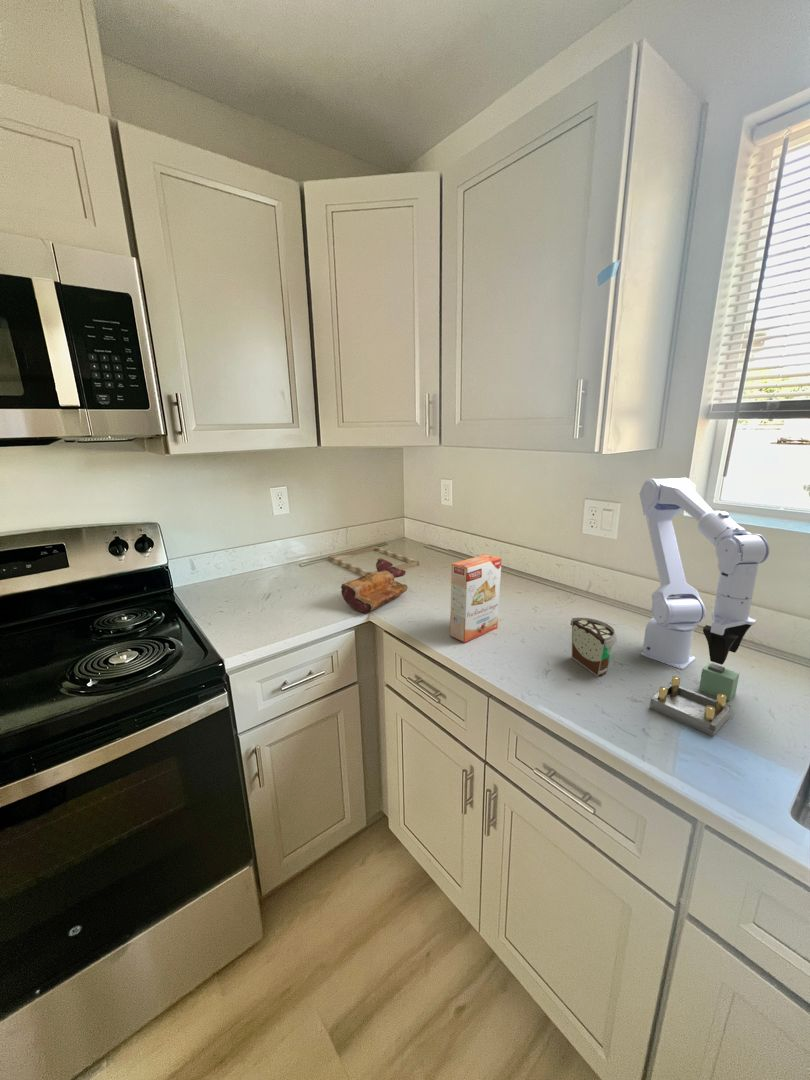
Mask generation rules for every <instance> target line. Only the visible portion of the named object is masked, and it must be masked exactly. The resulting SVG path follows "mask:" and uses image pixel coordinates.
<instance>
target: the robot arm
mask: <svg viewBox="0 0 810 1080" xmlns="http://www.w3.org/2000/svg"><path fill="white" fill-rule="evenodd" d="M638 495H639V498H640V502H641V507H642V512H643V513H642V514H643V515H644V516H645V519H646V523H647V527H648V529H647V530H648V533H649V538H650V541H651V547H652V551H653V556H654V557H653V558H654V560H655V561H654V562H655V565H656V570H657V574H658V575H657V576H658V579H659V583H660V586H658V588H656V590H655V591H653V592H652V594H651V601H652V603H651V614H652V617H651V618H650V619H649V620H648V622H647V624H646V627H645V630H644V638H643V644H642V652H640V654H641V656H644V657H647V658H648V659H652V660H655V661H656V662H657V661H658V662H660V663H662V664H666V665H668V666H671V667H674V668H676V669H679V670H685V669H686V668H687V667H688V666H689V665H691V664H692V663H693V662H694V661H696V657H695V656H693V655H691V649H692V643H693V636H694V630H695V629H696V628H698V625H699V624H701V623H702V622H703V621H704V620H705V618H706V614H707V611H706V605H705V604H704V602H703V600H702V599H701V597H700V594H699V590H697V589H696V588H695V587H693V586H692V585H691V584H689V583H688V582H687V580H686V575H685V571H684V567H683V563H682V562H683V561H682V559H681V555H680V554H681V553H680V549H679V545H678V542H677V541H678V540H677V536H676V533H675V528H674V524H673V518H674V517H675V516H677V515H679V514H680V513H681V512H682V510H683V511H684V512H685V513H687V514H688V515H690V517H692V518H693V519H694V520H696V521H697V522H698V525H697V530H698V531H699V532H700V533H701V534H702V535H703V536H704V537H705V538H706V539H707V540H708V541H709V542H710V543H711V544H712V545H713V546H714V547H715V554H716V557H717V561H718V562H717V568H718V571H719V577H718V582H717V589H716V594H715V601H714V606H713V610H711V611H712V613H711V617H712V618H711V619H712V622H711V625H707V624H706V625H704V626H703V628H702V633H703V634H704V636H705V639H706V641H707V646H708V651H709V653H708V655H709V660H710V662H711V663H712V662H713V663H714V664H717V665H718V664H719V665H720V666H722V665H723V664H725V662H726V660H727V658H728V654H729V652H732V653H736V652H737V651H738V649H739V648H740V645H741V643H742V640H743V639H744V637H745V635H746V633H747V632H748V630H749V629H750V628H751V626H754V625H755V624H756V622H757V619H755V618H752V617H750V612H751V606H752V601H753V596H754V590H755V586H756V585H755V584H756V580H757V574H758V571H759V570H758V568H759V564H762V563H764V562H766V560H767V559H768V557H769V555H770V545H769V543H768V541H767V540H766V538H765V537H764V536H763V535H762V534H759V533H752V532H750V531H746V529H745V528H744V527H743V526H740V525H739V524H738V523H737V522H736V521H735V520H733V519H732V517H731V516H730V514H729V513H728V512H727V511H722V510H713V509H712V508H711V507H710V505H708V503H707V502H706V501H705V500H704V499H703V498H702V497H701V496H700V495H699V494H698V492H697V490H696V484H695V483H693V482H692V481H691V479H689V478H687V477H679V478H647V479H645V480H644V482H643V484H642V486H641V488H640V491H639V494H638Z"/></svg>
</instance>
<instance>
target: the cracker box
mask: <svg viewBox="0 0 810 1080" xmlns="http://www.w3.org/2000/svg"><path fill="white" fill-rule="evenodd" d="M502 560H503V559H502V558H501V557H498V556H495V555H490V554H486V553H485V554H482V555H478V556H474V557H472V558H466V559H463V560H459V561H456V562H453V563H451V582H450V583H451V585H450V618H449V619H450V622H449V623H450V624H449V636H450V637H451V638H453V639H456V640H458V641H459V642H462V643H465V644H466V643H467V642H470V641H471V640H474V639H476V638H479V637H481V636H484V635H485V634H487V633H489V632H492V631H494V630H496V629H498V627H499V626H498V625H499V609H500V596H501V595H500V591H501V578H502V577H501V574H502Z"/></svg>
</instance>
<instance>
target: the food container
mask: <svg viewBox="0 0 810 1080" xmlns="http://www.w3.org/2000/svg"><path fill="white" fill-rule="evenodd" d="M569 626H571V658H572V659H573V660H575V662H576V663H578V664H580V665H581V666H582V667H584V668H585V669H586V670H588V671H589V672H590V673H591V674H593V675H595V676H596V677H597V678H600V677H603V676H605V675H606V674H607V672H608V669H609V668H608V667H609V663H610V659H611V655H612V648H613V646H614V645H616V643H617V634H616V632H615V628H614V627H612V626H611V625H609V623H606V622H604V621H601V620H598V619H595V618H594V619H593V618H590V617H572V618H571V620H570V625H569Z"/></svg>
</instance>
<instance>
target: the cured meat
mask: <svg viewBox="0 0 810 1080" xmlns="http://www.w3.org/2000/svg"><path fill="white" fill-rule="evenodd" d="M375 569H376V571H378V572H376V573H373V574H369V575H365V576H362V575H361V577H358V578H356V579H354V580H350V581H348V582H345V583H342V584H341V586H340V588H341V592H340V593H341V597H342V598H343V600H344V601H345V603H347V605H348V606H349V607H350V608H352V609H353V610H354V611H357V612H360V613H364V614H366V613H367V614H368V613H371V611H372V612H373V611H374V610H376V609H378V608H380V607H382V606H383V605H385V604H387V603H389V602H390V601H393V600H395V599H397V598H398V597H400V596H402V595H403V594H404V593H405V592H407V590H408V585H407V584H402V583H400V582H399V581H395V578H401V577H404V576H406V573H407V571H406V570H400V569H398V568H396V567H394V565H393V563H391V562H390V561H389V560H386V559H384V558H382V557H379V558H377V561H376V563H375Z"/></svg>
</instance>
